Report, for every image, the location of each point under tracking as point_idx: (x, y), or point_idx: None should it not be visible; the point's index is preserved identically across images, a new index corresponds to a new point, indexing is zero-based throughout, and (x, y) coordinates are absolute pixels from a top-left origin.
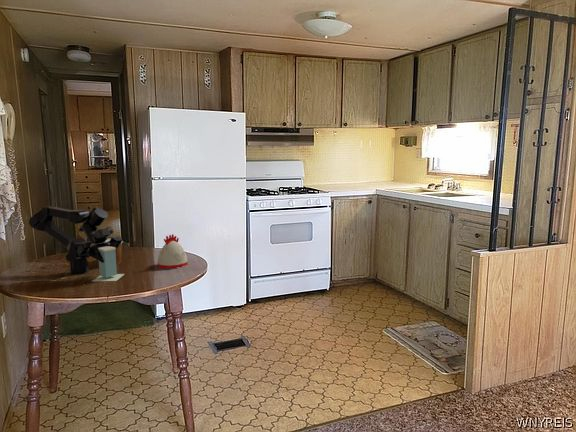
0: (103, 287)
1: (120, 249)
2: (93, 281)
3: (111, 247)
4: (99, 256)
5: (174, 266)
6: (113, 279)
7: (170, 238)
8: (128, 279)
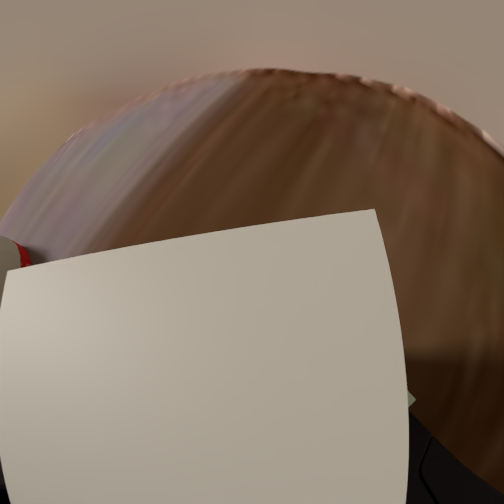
0: (408, 207)
1: None
2: (408, 392)
3: (21, 368)
4: (411, 416)
5: (20, 247)
6: None
7: None
8: None
